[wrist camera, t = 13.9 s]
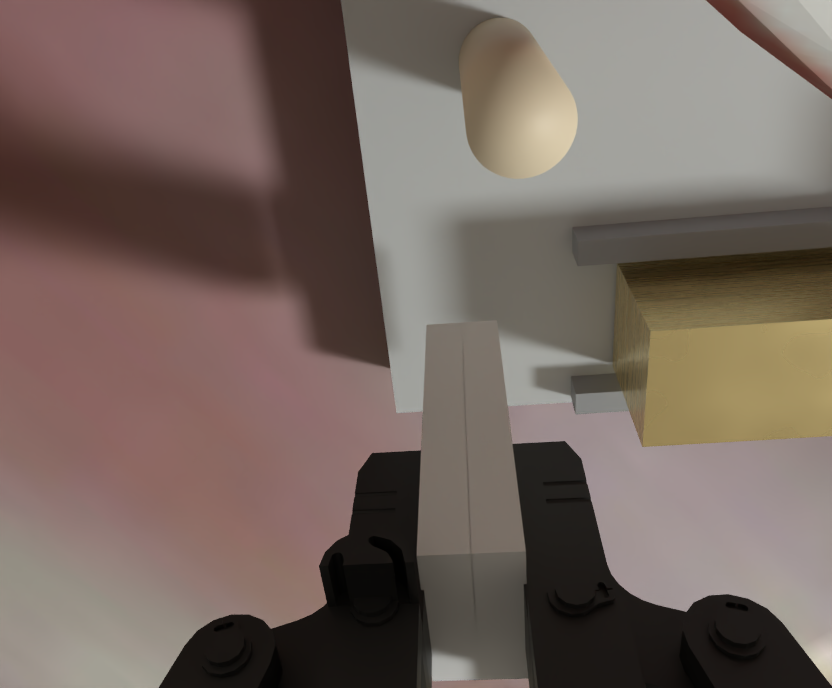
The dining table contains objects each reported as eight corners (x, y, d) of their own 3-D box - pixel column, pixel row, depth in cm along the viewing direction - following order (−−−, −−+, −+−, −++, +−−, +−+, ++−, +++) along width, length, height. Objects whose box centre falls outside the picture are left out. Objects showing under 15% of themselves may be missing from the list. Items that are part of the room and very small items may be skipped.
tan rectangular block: (612, 365, 19) (642, 446, 16) (616, 262, 17) (650, 331, 14) (908, 346, 18) (992, 427, 15) (937, 237, 17) (1036, 305, 14)
